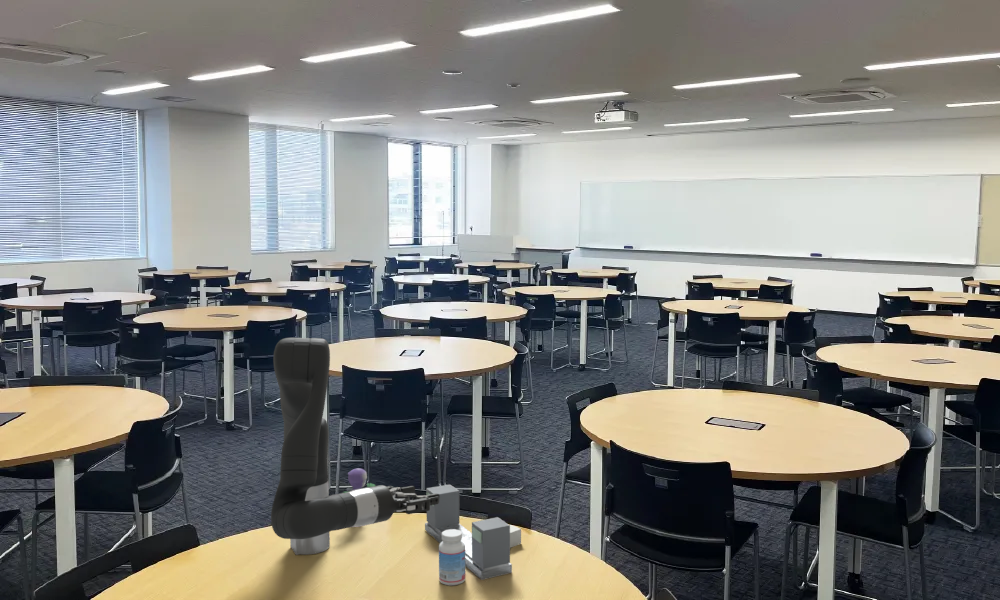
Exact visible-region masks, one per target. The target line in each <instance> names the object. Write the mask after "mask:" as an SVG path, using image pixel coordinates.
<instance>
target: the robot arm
mask: <svg viewBox="0 0 1000 600" xmlns="http://www.w3.org/2000/svg"><path fill="white" fill-rule="evenodd" d="M272 360H273V369H274V375H275V378H276V381H277V384H278V389H279V397H280V398H279V399H280V411H281V415H282V420H283V444H282V446H281V447H282V448H281V456H280V457H281V459H280V473H279V476H280V477H279V483H278V485H277V487H276V490H275V494H274V499H273V503H272V507H271V513H270V523H271V527H272V530H273V532H274V534H275V535H276V536H277V537H279V538H281V539H285V540H290V548H291V550H292V551H293V553H294V555H298V556H299V555H315V554H319V553H320V554H321V553H322V552H325V551H327V550H328V549H329V548H330V545H331V544H330V543H331V542H330V540H331V539H330V538H331V537H330V532H333V531H340V530H344V529H349V528H355V527H356V528H357V527H364V526H369V525H374V524H379V523H382V522H386V521H389V520H390V519H391V517H392V516H393V514H394V513H395V512H396V513H400V512H401V513H402V512H404V511H405V514H407V515H411V514H417V513H422V512H427V511H428V510H430V506H431V505H435V504H438V503H439V494H437V493H435V494H430V495H425V494H424V495H417V493H416V486H415V485H409V486H403V487H398V486H396V487H394V486H392V485H388V486H386V485H383V484H380V485H376V486H373V487H367V486H366V487H362V489H356V490H353V489H352V490H350V491H345V492H346V493H343V492H341V493H335V494H331V495H329V494H330V489H329V487H330V485H329V481H330V480H329V462H328V461H329V442H330V441H329V438H330V437H329V436H330V434H329V430H330V429H329V425H328V422H327V420H326V419H325V418H323V417H324V416H323V415H324V410H325V404H326V398H327V390H328V383H329V375H330V367H331V366H330V365H331V350H330V345H329V343H328V341H327V339H324V338H319V337H311V338H309V337H285V338H282V339H279V340H278V342H277V343H276V345H275V347H274V350H273V359H272ZM410 498H412V499H410Z"/></svg>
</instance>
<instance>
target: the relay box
mask: <svg viewBox="0 0 1000 600" xmlns="http://www.w3.org/2000/svg"><path fill="white" fill-rule="evenodd" d="M509 525H510V549H511V548H513V547H516V546H518V545H521V544H522V528H519V527H517V526H515V525H512V524H509Z"/></svg>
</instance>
